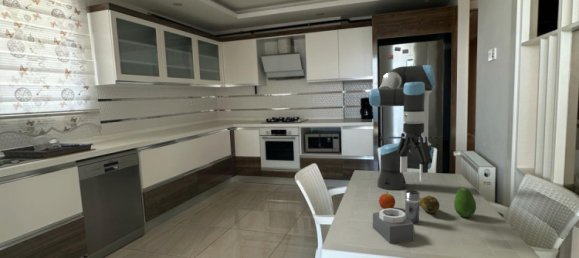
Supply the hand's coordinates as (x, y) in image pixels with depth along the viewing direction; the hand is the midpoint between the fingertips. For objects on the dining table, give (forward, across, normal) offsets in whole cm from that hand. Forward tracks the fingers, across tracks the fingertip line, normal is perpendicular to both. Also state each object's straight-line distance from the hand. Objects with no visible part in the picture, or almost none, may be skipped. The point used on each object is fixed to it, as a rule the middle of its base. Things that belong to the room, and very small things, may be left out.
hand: (413, 176), depth 124 cm
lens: (+19, 0, 0) cm, 19 cm away
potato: (+19, -7, +12) cm, 23 cm away
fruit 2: (+19, +1, +23) cm, 30 cm away
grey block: (+19, +8, -13) cm, 24 cm away
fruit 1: (+19, -15, -3) cm, 24 cm away
